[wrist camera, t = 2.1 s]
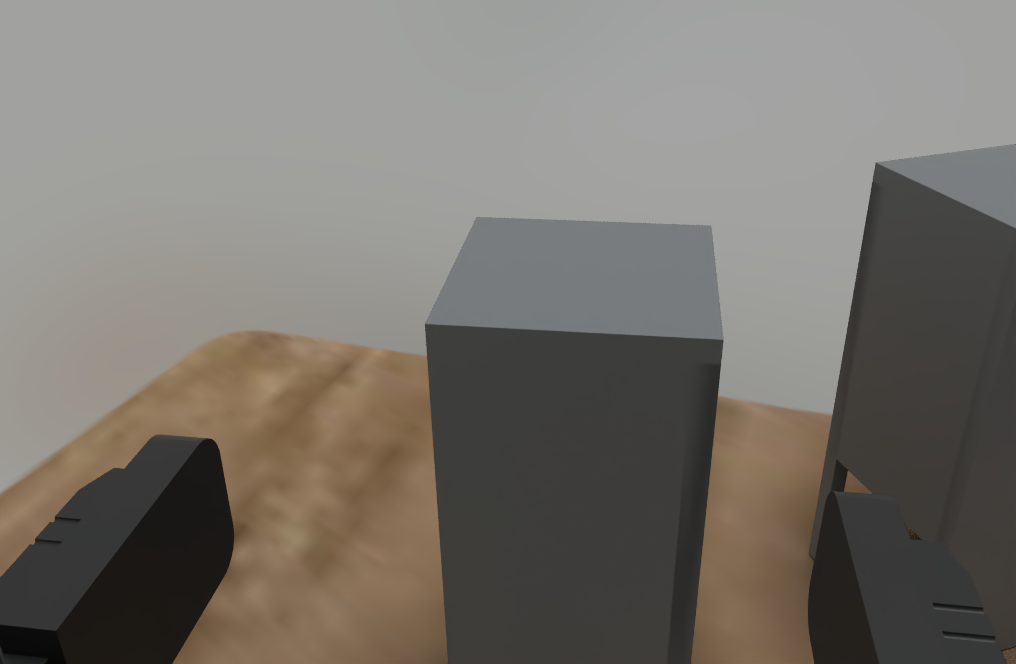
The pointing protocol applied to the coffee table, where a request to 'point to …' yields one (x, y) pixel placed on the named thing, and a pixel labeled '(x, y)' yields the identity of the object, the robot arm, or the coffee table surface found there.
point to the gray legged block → (574, 439)
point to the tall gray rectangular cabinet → (937, 364)
